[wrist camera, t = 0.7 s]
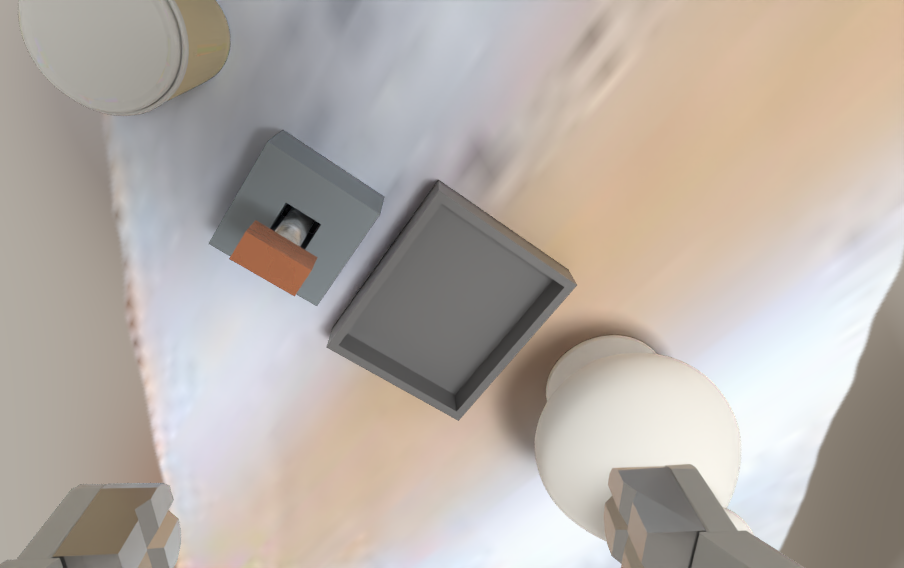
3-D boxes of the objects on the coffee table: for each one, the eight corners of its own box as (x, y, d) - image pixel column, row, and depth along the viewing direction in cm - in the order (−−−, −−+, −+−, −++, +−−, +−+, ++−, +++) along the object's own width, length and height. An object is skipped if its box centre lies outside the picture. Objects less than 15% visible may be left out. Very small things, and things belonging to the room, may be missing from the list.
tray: (438, 179, 49) (439, 190, 46) (568, 269, 53) (577, 285, 50) (332, 328, 55) (326, 347, 52) (456, 399, 59) (458, 420, 56)
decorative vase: (554, 474, 64) (623, 721, 41) (494, 352, 57) (539, 570, 34) (707, 418, 62) (870, 649, 39) (665, 284, 54) (834, 470, 32)
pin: (287, 183, 49) (245, 231, 38) (337, 215, 50) (311, 270, 39) (274, 205, 50) (229, 258, 38) (323, 236, 51) (294, 296, 40)
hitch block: (283, 130, 47) (267, 141, 42) (384, 196, 50) (380, 214, 45) (228, 223, 50) (208, 243, 46) (326, 281, 53) (316, 306, 48)
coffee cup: (93, 35, 44) (-18, 39, 33) (158, -68, 41) (61, -102, 30) (198, 119, 46) (128, 149, 36) (266, 28, 44) (212, 30, 33)
